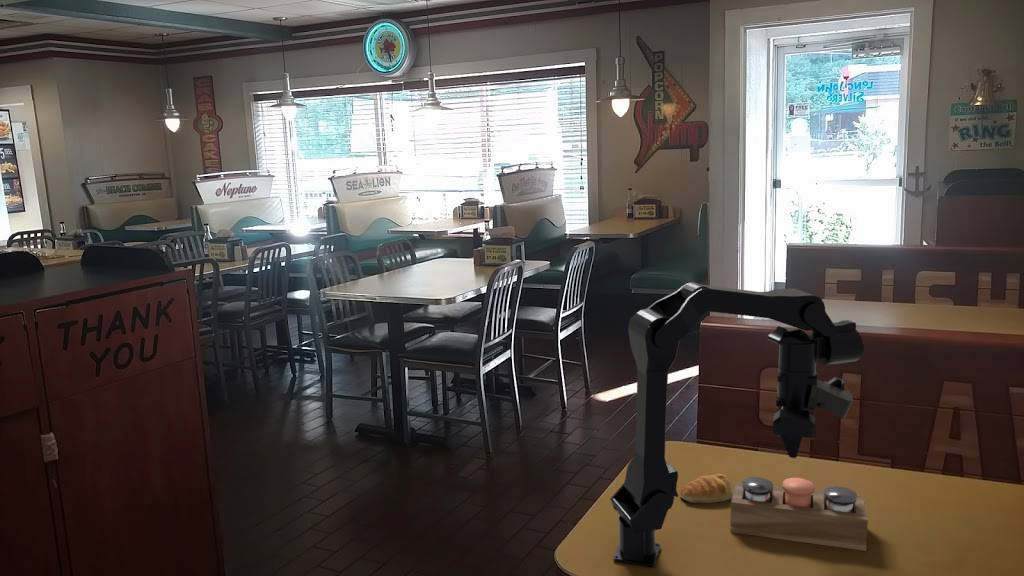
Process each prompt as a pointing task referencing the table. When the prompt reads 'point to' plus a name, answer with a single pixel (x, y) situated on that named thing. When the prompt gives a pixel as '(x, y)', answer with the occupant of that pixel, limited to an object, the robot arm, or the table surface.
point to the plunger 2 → (840, 499)
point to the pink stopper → (798, 492)
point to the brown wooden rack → (799, 520)
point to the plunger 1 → (757, 489)
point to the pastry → (707, 489)
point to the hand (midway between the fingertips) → (792, 457)
